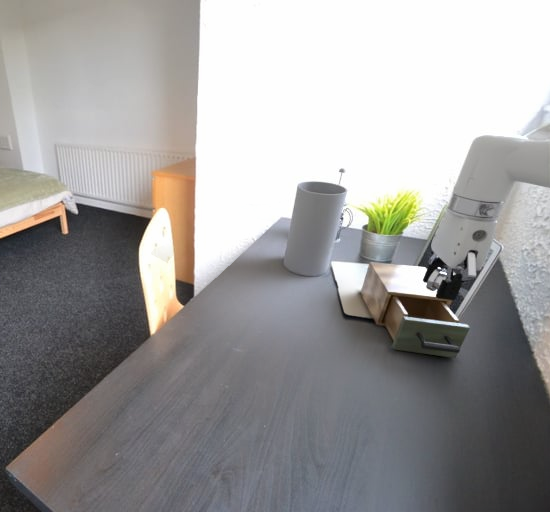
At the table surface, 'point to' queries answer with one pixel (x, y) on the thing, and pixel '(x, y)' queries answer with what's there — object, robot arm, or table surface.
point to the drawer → (424, 326)
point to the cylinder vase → (314, 227)
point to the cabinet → (393, 286)
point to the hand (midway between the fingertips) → (438, 289)
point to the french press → (342, 215)
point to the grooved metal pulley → (436, 279)
